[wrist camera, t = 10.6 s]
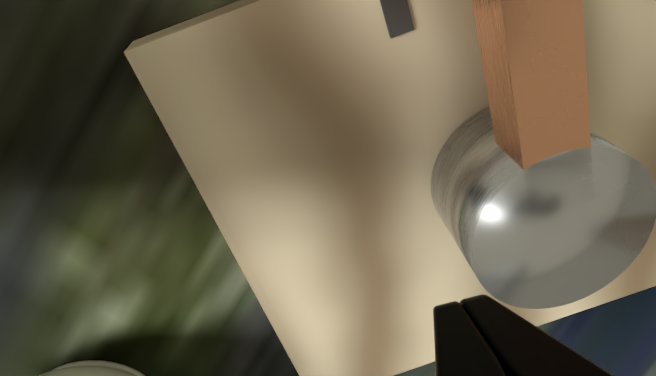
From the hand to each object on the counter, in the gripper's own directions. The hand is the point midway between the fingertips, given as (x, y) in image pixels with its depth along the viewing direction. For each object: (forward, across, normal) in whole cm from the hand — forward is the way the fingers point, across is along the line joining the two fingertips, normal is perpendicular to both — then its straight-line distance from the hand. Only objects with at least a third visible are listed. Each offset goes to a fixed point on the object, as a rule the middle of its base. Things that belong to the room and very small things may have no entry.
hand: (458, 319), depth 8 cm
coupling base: (+12, -6, +4) cm, 15 cm away
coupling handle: (+11, -5, 0) cm, 12 cm away
